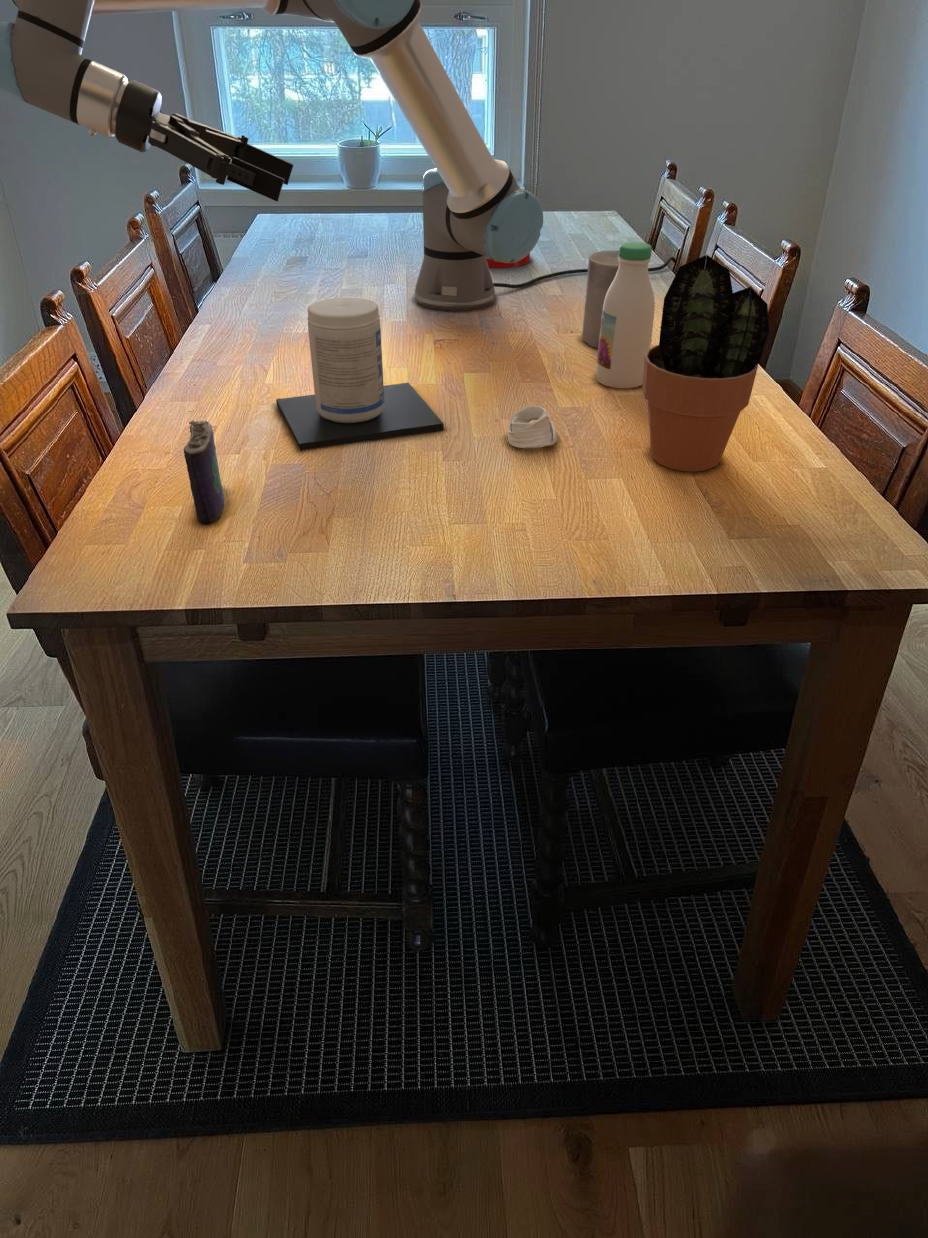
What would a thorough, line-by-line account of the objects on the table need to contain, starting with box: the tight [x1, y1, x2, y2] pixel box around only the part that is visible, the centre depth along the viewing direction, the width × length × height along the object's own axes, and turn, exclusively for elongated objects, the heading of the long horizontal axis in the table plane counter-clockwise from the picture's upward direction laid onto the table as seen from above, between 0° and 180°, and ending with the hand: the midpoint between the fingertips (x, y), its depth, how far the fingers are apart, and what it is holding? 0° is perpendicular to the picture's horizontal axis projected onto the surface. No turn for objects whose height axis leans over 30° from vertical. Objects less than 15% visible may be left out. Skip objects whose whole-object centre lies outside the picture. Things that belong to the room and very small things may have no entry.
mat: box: [275, 382, 444, 452], centre depth 129 cm, size 20×16×1 cm
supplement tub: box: [306, 296, 385, 423], centre depth 124 cm, size 10×10×15 cm
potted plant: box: [641, 254, 770, 473], centre depth 112 cm, size 14×14×25 cm
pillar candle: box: [581, 249, 619, 349], centre depth 152 cm, size 10×10×15 cm
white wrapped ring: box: [507, 405, 558, 449], centre depth 122 cm, size 8×7×5 cm
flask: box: [183, 419, 225, 526], centre depth 104 cm, size 9×3×11 cm, turn 8°
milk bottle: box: [595, 241, 656, 389], centre depth 136 cm, size 8×8×20 cm
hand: (286, 182), depth 120 cm, fingers open, 13 cm apart
